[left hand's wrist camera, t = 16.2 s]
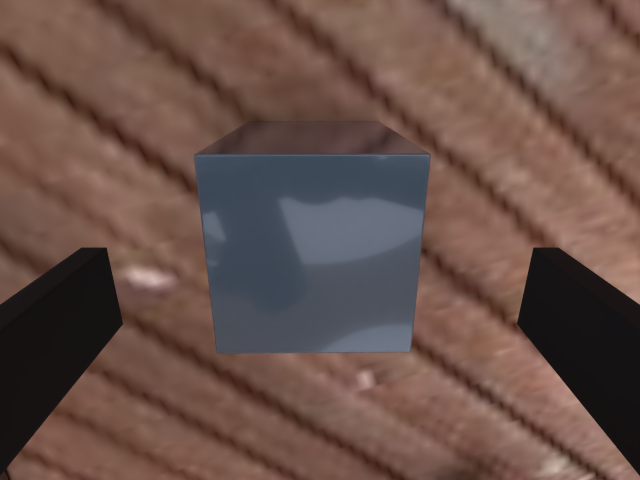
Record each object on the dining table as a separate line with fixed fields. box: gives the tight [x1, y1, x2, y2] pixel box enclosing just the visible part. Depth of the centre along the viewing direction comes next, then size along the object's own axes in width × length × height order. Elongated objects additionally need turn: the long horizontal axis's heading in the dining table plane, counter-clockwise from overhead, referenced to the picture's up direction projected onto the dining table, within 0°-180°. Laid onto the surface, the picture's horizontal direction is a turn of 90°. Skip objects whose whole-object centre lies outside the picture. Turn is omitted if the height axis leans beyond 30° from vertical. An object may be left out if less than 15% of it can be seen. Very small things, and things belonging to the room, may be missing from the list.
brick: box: [194, 122, 431, 353], centre depth 19 cm, size 8×8×11 cm
